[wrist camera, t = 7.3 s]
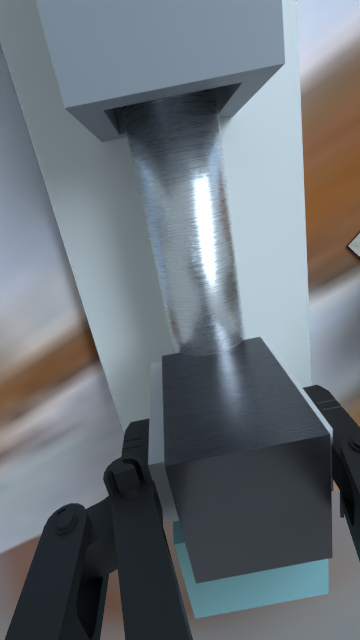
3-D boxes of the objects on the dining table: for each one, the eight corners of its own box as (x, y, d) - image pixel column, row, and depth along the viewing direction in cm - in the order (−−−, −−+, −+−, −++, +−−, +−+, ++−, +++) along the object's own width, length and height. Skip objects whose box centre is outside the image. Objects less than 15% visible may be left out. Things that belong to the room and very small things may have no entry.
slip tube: (96, 47, 12) (-28, -250, 4) (210, 23, 12) (319, -322, 4) (193, 475, 20) (218, 665, 12) (262, 462, 20) (333, 643, 12)
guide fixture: (-28, -71, 12) (-405, -611, 4) (280, -135, 12) (536, -823, 4) (139, 470, 23) (128, 631, 14) (307, 437, 23) (395, 580, 14)
